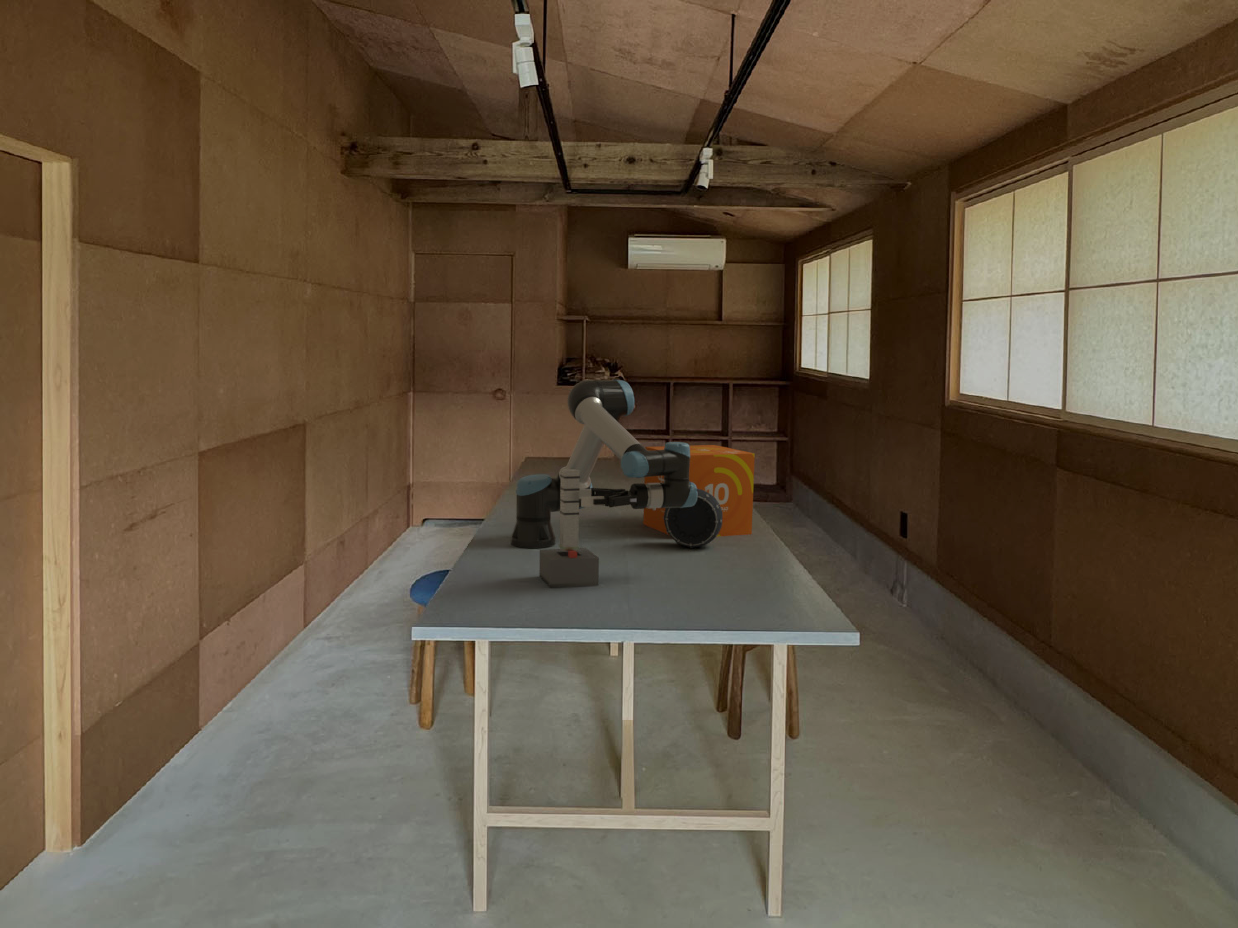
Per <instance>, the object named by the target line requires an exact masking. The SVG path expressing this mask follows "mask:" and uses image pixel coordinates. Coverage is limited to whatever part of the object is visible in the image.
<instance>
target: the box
mask: <svg viewBox="0 0 1238 928" xmlns="http://www.w3.org/2000/svg"><path fill="white" fill-rule="evenodd" d="M689 446H690V468H689V480H690V482H693V483H694V484H695V485H696V487H697V489H701V490H704V491H706V492H708V493H710V494H711V495H712V496H714V497H715V498H716V500H717V501H718V503H719V505H720V507H721V509H722V513H723V517H722V527H721V529H720V532H719V533H718V535H717V536H716V537H717V538H718V537H731V536H744V535H745V536H746V535H753V533H752V531H753V513H754V512H753V509H754V483H755V481H754V480H755V459H756V457H755V455H756V453H754V452H749V451H744V450H741V449H740V450H739V449H735V448H730V447H726V446H721V445H717V444H702V445H697V444H696V445H689ZM644 448H645V449H646V450H648V451H654V450H664V448H665V445H663V446H657V445H656V446H645V447H644ZM643 483H644V484H646V483H664V476H651V477H644V482H643ZM665 509H666V508H656V510H653V508H645V509H643V523H642V524H643V525H644V526H647V527H648V528H652V529H654V530H657V531H658V532H661V533H663V534H665V535H667V536H670V535H669V534H668V533H667V532H666V527H665V523H664V519H663V516H664V512H665ZM716 537H715V538H716Z"/></svg>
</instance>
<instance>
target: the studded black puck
mask: <svg viewBox="0 0 1238 928" xmlns="http://www.w3.org/2000/svg"><path fill="white" fill-rule="evenodd" d="M697 493H698V497H697V501H696V503H695V505H694V506H692V507H683V508H666V509H665V512H664V516H663V519H664V523H665V527H666V532H667V533H668V534H669V535H668V534H667V535H668V536H670V538H671V539H672V540H674V541H675V543H676V545H682V546H684V547H688V548H690V549H693V548H700V547H703V546H707V545H708V544H710V543H711V542H713V540H715V538H716V536H717V535H718V533H719V532H720V529H721V527H722V517H723V513H722V509H721V507H720V505H719V503H718V501H717V500H716V498H715V497H714V496H712V495H711V494H710V493H708V492H706V491H704V490H701V489H697Z"/></svg>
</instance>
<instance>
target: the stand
mask: <svg viewBox="0 0 1238 928" xmlns="http://www.w3.org/2000/svg"><path fill="white" fill-rule="evenodd" d="M599 566H600V558H599V556H597V555H596V554H594V553H593V552H592V551H591V550H590V549H588V548H586V547H579V549H578V550H572V551H563V550H562V549H561V548H554V549H553V548H552V549H551V548H550V549H549V548H547V549H539V574H538V575H539V577H541V580H542V581H543V582H544V583H545V584H546V585H547V586H548V587H549V588H550V589H557V588H560V589H561V588H574V587H590V586H591V587H593V586H599V579H600V578H599V571H600V567H599Z"/></svg>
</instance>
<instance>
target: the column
mask: <svg viewBox="0 0 1238 928" xmlns="http://www.w3.org/2000/svg"><path fill="white" fill-rule="evenodd" d="M560 469H561V468H560ZM579 475H580V471H578V470H576V469H561V474H560V477H561V486H560V511H559V544H558V547H559V549H562V550H563V551H572V550H578V549H579V548H580V547H579V533H580V531H579V526H580V523H579V522H580V519H579V518H580V509H579V491H580V488H579V478H580V476H579Z"/></svg>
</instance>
